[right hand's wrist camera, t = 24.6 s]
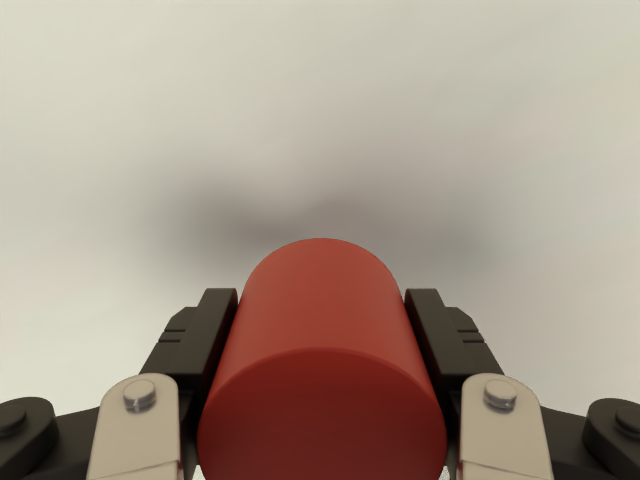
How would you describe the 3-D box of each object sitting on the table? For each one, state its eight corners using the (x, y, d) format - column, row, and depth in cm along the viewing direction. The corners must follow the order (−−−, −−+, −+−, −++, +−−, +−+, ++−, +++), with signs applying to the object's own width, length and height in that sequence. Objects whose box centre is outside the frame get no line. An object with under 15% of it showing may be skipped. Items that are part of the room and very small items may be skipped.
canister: (326, 203, 11) (330, 296, 7) (434, 316, 13) (499, 460, 8) (207, 308, 12) (142, 449, 8) (316, 403, 14) (315, 573, 9)
